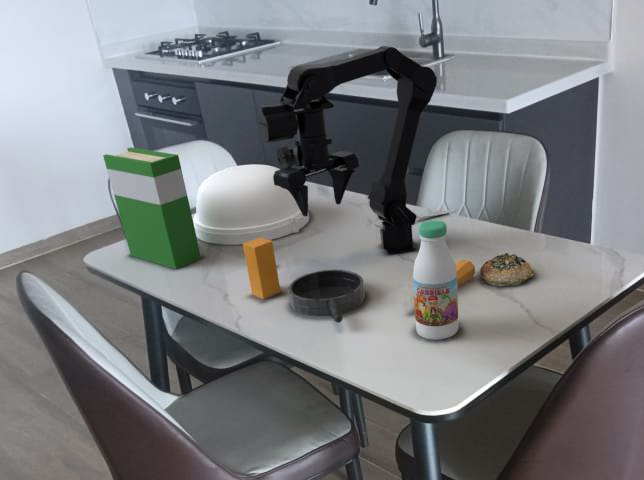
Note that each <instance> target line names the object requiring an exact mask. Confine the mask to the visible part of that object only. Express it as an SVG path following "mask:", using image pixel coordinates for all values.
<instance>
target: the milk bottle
mask: <svg viewBox="0 0 644 480" xmlns="http://www.w3.org/2000/svg"><path fill="white" fill-rule="evenodd" d="M447 231H448V229H447V223H445V222H444V221H442V220H427V221H423V222H421V223H420V224H419V226H418V234H419V239H420V246H419V250H418V253H417V256H416V258H415V261H414V264H413V269H412V285H413V288H412V289H413V303H414V305H413V306H414V309H415V310H414V321H415V331H416V333H417V334H418V336H420V337H422V338H424V339H427V340H443V339H444V340H445V339H448V338H451V337H453V336H454V335H456V334H457V332H458V331H459V294H458V293H459V292H458V287H457V271H456V266H455V265H456V262H455V260H454V257H453V256H452V253H451V252H450V250H449V247H448V244H447V241H446V238H447V237H448V234H447Z"/></svg>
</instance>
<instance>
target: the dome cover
mask: <svg viewBox="0 0 644 480" xmlns="http://www.w3.org/2000/svg"><path fill="white" fill-rule="evenodd" d="M277 170H280V168H278V167H276V166H273V165H268V164H258V163H257V164H256V163H255V164H253V163H252V164H239V165H236V166H230V167H227V168H224V169H221V170H219V171H218V170H217V171H216V172H214V173H212V174H210V175H209V176H208V177H206V179H204V180H203V181H202V183H201V184H200V186H199V188H198V189H197V190H198V191H197V194H196V198H195V199H196V200H195V211H196V212H195V214H194V215H193V217H192V219H193V223H194V227H195V232H196V236H197V239H199V240H201V241H203V242H205V243H210V244H216V245H228V246H230V245H231V246H232V245H243V243H246V242H249V241H251V240H254V239H257V238H260V237H261V238H264V239H267V240H270V241H273V240H276V239H280V238H282V237H286V236H288V235H291V234H296V233H299V232H300V230H301V229H302V228H303V227H306V225H307V224H308V223H309V220H310V214H309V213H310V212H308V216H306V217H305V216H303V215H302V213H301V211H300V209H299V207H298V205H297V203H296V201H295V199H294V198H293V196H292V195H291V193H290V192H289V191H288V190H287V189H283V188H281V187H280V186H276V185H274V180H273V175H274V173H275V171H277Z"/></svg>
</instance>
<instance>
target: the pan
mask: <svg viewBox="0 0 644 480" xmlns="http://www.w3.org/2000/svg"><path fill="white" fill-rule="evenodd" d="M365 291H366V290H365V282H364V279H363V276H361V275H360V274H358V273H357V272H354V271H351V270H345V269H324V270H318V271H317V270H316V271H313V272H309V273H306V274H304V275H301V276H298V277H296V279H294V280H293V281H292V282H290V284H289V285H288V295H289V302H290V306H291V308H292V310H294V311H295V312H296V313H298V314H301V315H303V316H304V315H305V316H308V317H330V316H333V315H332V313H331V310H330V308H329V305H328V302H329V300H331V299H334V300H336V302H337V305H338V307H339V310H340V312H341V314H344V313H347V312H350V311H353V310H354V309H355V310H356V309H357V308H358V307H359V306H361V305H362V304H363V302H364V301H365V298H366V292H365Z"/></svg>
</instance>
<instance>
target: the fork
mask: <svg viewBox="0 0 644 480" xmlns="http://www.w3.org/2000/svg"><path fill="white" fill-rule="evenodd" d="M457 211H458V209H455V208H453V209H447V210H443V211H439V212H435V213H430V214H425V215H420V216H416V220H417V219H423V218H424V219H425V218H430V217H437V216H442V215H447V214H452V213H456V212H457ZM372 225H373V226H374V227H375V228H377V229H382V224H374V223H373V224H372Z"/></svg>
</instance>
